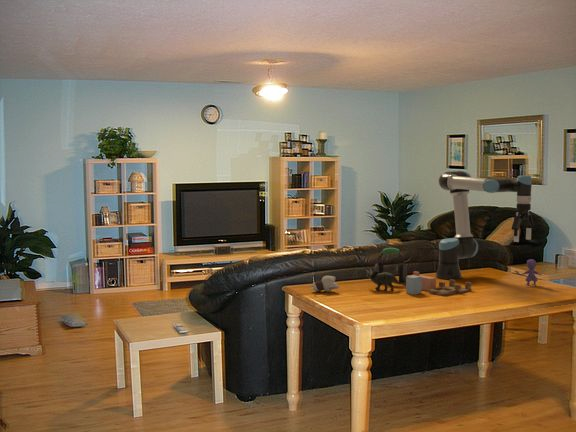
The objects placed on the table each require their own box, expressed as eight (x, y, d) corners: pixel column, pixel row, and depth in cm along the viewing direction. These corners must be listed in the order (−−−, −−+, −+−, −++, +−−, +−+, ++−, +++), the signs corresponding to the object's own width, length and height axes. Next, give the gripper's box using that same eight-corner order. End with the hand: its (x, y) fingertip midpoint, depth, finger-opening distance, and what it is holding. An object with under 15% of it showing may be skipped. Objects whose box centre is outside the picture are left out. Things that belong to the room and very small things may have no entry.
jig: (426, 292, 359) (426, 284, 358) (450, 287, 373) (450, 279, 372) (447, 296, 348) (447, 288, 348) (471, 290, 362) (471, 282, 362)
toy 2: (546, 284, 378) (546, 258, 376) (549, 286, 372) (549, 260, 371) (513, 284, 380) (513, 258, 378) (515, 286, 374) (516, 260, 373)
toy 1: (314, 301, 358) (341, 295, 359) (312, 288, 354) (339, 281, 354) (310, 288, 369) (336, 282, 370) (307, 275, 365) (333, 269, 366)
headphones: (407, 280, 395) (407, 247, 393) (407, 283, 384) (407, 249, 382) (375, 279, 398) (375, 246, 396) (374, 282, 388) (374, 249, 386)
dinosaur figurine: (405, 289, 367) (405, 269, 366) (402, 292, 359) (402, 272, 358) (366, 287, 374) (366, 267, 373) (363, 290, 366) (363, 270, 365)
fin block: (406, 293, 358) (406, 276, 357) (414, 291, 362) (414, 275, 361) (413, 294, 354) (413, 278, 353) (421, 292, 358) (421, 276, 358)
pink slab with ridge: (410, 287, 374) (410, 271, 373) (416, 286, 377) (416, 270, 376) (430, 291, 363) (430, 275, 362) (435, 290, 366) (436, 274, 365)
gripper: (518, 204, 358) (517, 243, 361) (540, 202, 375) (539, 239, 377) (505, 204, 364) (504, 242, 366) (528, 201, 381) (527, 237, 383)
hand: (522, 240), depth 372 cm, fingers open, 13 cm apart
